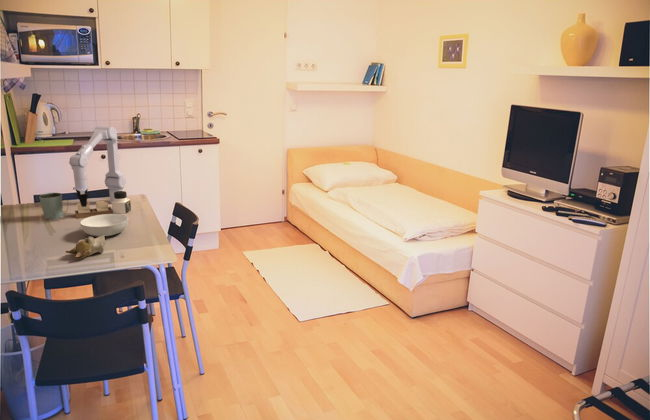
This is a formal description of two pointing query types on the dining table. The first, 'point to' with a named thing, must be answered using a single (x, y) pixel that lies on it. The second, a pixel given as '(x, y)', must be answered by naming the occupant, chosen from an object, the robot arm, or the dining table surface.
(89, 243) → the ceramic sculpture
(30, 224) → the dining table surface
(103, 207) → the block
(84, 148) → the robot arm
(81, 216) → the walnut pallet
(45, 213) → the green cylindrical pot
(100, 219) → the serving bowl
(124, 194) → the medicine bottle
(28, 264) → the dining table surface
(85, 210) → the birch block
